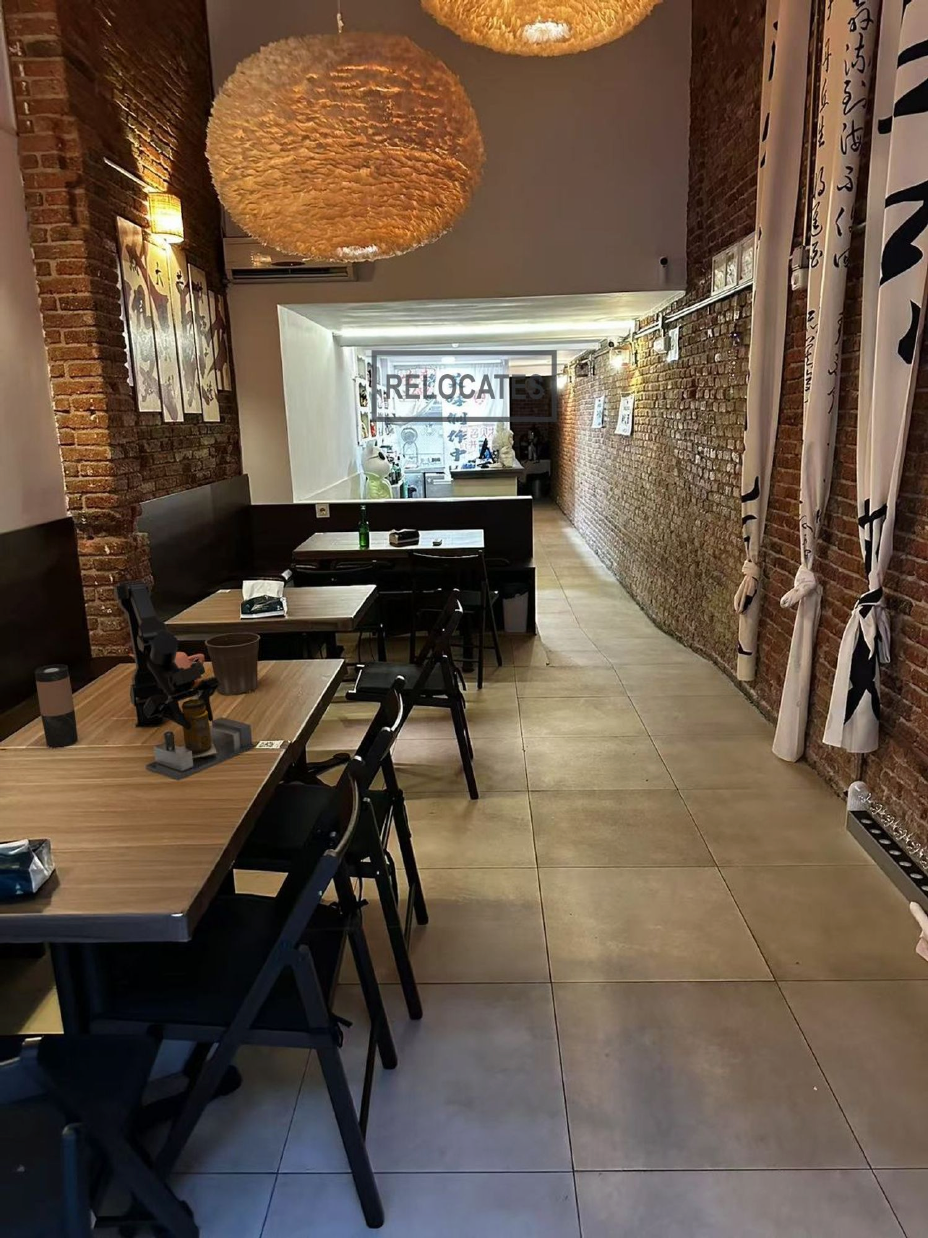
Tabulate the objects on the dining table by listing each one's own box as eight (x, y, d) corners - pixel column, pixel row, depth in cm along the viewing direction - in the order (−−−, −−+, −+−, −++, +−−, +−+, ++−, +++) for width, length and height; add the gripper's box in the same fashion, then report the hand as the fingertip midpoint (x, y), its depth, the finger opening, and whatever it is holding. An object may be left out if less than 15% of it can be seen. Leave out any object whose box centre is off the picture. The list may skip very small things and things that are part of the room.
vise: (178, 780, 176) (175, 755, 174) (146, 769, 182) (143, 745, 181) (253, 747, 193) (251, 725, 192) (222, 738, 200) (220, 716, 199)
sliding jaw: (182, 771, 177) (178, 738, 176) (155, 762, 183) (151, 730, 181) (193, 766, 180) (189, 734, 178) (166, 758, 185) (162, 726, 184)
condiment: (211, 741, 192) (206, 695, 189) (217, 753, 185) (211, 706, 182) (180, 747, 189) (174, 700, 186) (184, 760, 182) (178, 712, 179)
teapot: (129, 698, 235) (124, 659, 232) (137, 683, 249) (133, 646, 246) (205, 691, 239) (201, 653, 236) (209, 677, 254) (205, 641, 251)
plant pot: (256, 697, 232) (251, 645, 229) (202, 698, 233) (197, 646, 229) (270, 680, 248) (266, 631, 244) (220, 682, 248) (215, 633, 245)
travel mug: (85, 739, 202) (74, 665, 197) (59, 750, 195) (48, 674, 191) (65, 735, 205) (54, 663, 201) (39, 746, 198) (27, 671, 194)
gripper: (144, 663, 177) (180, 718, 173) (212, 644, 192) (245, 694, 188) (128, 691, 183) (162, 744, 179) (195, 670, 198) (227, 719, 194)
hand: (201, 724), depth 185 cm, fingers closed on condiment, 6 cm apart
